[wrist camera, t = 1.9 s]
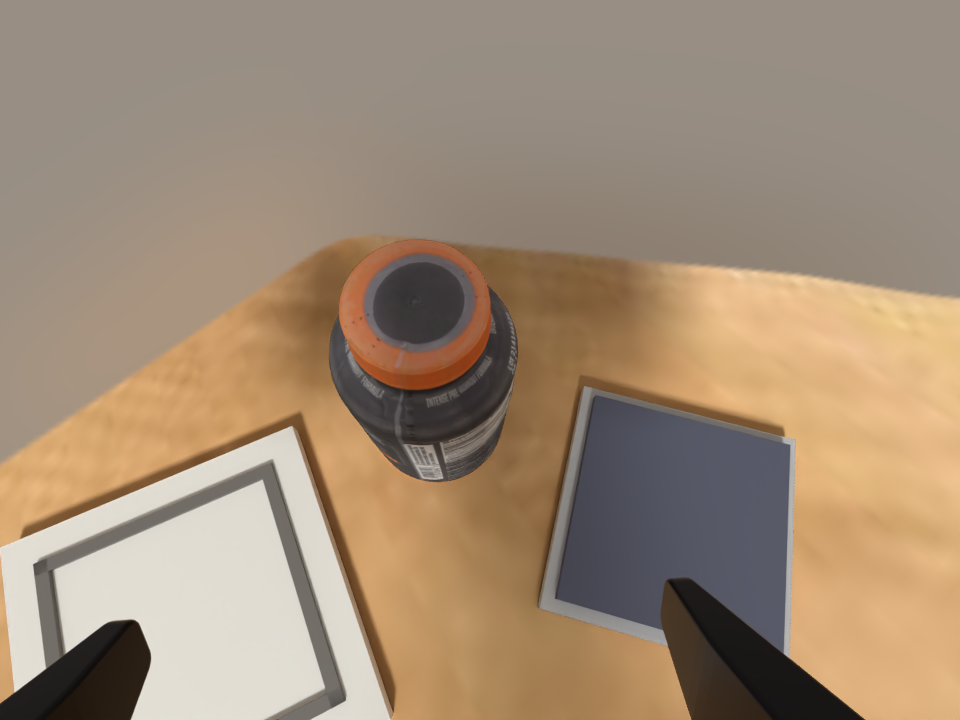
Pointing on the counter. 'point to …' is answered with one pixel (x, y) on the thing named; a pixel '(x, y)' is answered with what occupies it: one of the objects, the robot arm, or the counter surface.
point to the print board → (206, 593)
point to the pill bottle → (424, 358)
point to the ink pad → (671, 518)
